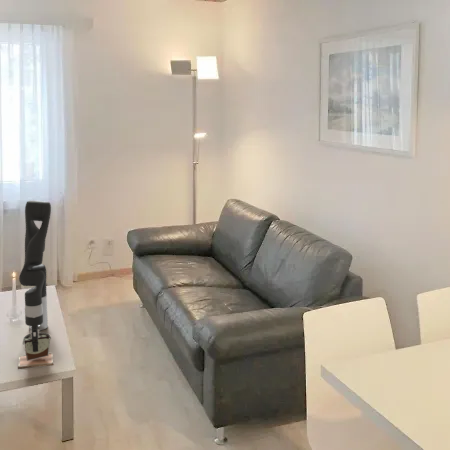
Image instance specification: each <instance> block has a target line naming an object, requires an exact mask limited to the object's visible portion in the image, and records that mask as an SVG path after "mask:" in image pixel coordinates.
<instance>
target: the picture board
mask: <svg viewBox="0 0 450 450" xmlns="http://www.w3.org/2000/svg"><path fill="white" fill-rule="evenodd" d="M17 362H18V365H17V369H18V370H19V369H27V368H29V369H30V368H37V367H38V368H39V367H47V366H54V353H53V352H49V353H48V356H46V357H41V358H37V359H33V360H29V361H27V357H26V355H19V356H18V360H17Z"/></svg>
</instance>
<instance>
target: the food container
mask: <svg viewBox="0 0 450 450" xmlns="http://www.w3.org/2000/svg"><path fill="white" fill-rule="evenodd" d="M50 339H52V337H51V334H50V333H48V332H42V331H39V338H38V352H33V345H32V339H31V333H29V334H27V335H24V337H23V340H22V345H24V350H25V356H26V357H27V361H29V360H33V359H37V358H41V357H46V356H48V353H50ZM34 341H37V340H33V342H34Z"/></svg>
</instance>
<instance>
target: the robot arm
mask: <svg viewBox="0 0 450 450" xmlns="http://www.w3.org/2000/svg"><path fill="white" fill-rule="evenodd" d="M51 205H52V204H51V203H50V202H49V201H47V200H46V201H45V200H37V199H36V200H34V199H33V200H32V199H31V200H30V199H29V200H27V201H26V203H25V207H24V217H25V218H24V219H25V235H24V262H23V266H22V269H21V270H20V274H19V278H18V279H19V280H18V281H19V283H20V285H21V286H23V287H31V288H29V289H28V290H26V291H25V292H24V315H25V316H24V319H25V326H28V328H29V332H30V333H29V334H31V339H32V345H33V352H38V338H39V332H40V331H43V330H45V329H47V328H48V327H49V326H48V324H49V322H48V321H49V320H48V298H47V297H48V296H47V268H46V266H45V264H43V258H44V252H45V249H46V238H47V235H48V234H47V233H48V230H49V225H50V219H51V213H52V212H51V211H52V206H51ZM36 222H41V225H40V227H38V226H37V225H36ZM33 340H37V341H34V342H33Z"/></svg>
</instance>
